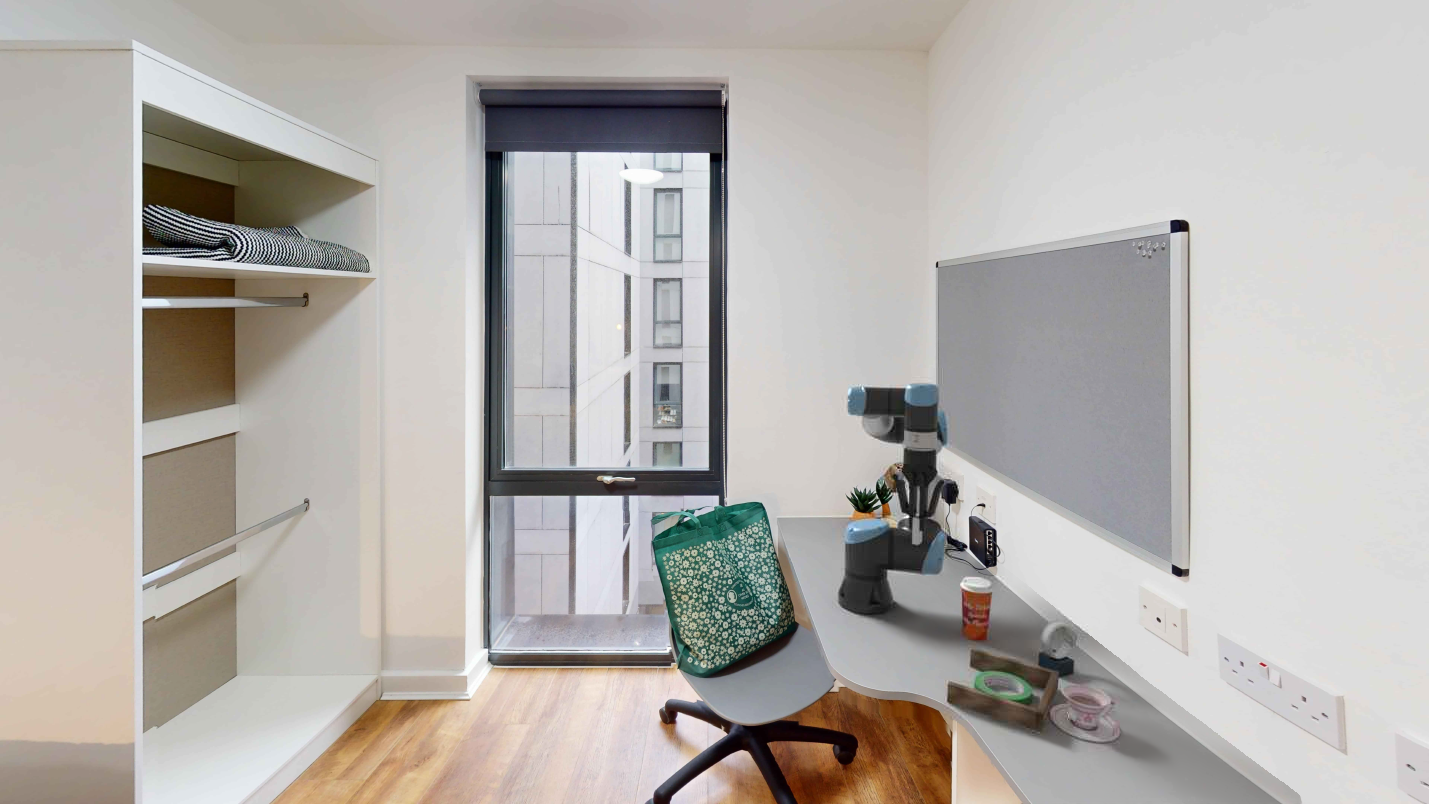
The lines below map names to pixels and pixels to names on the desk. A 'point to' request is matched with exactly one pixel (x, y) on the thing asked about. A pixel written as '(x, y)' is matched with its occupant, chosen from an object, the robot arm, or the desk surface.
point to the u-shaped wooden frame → (1002, 706)
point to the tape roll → (1004, 680)
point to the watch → (1059, 658)
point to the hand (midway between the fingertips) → (916, 542)
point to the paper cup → (976, 607)
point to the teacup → (1085, 714)
